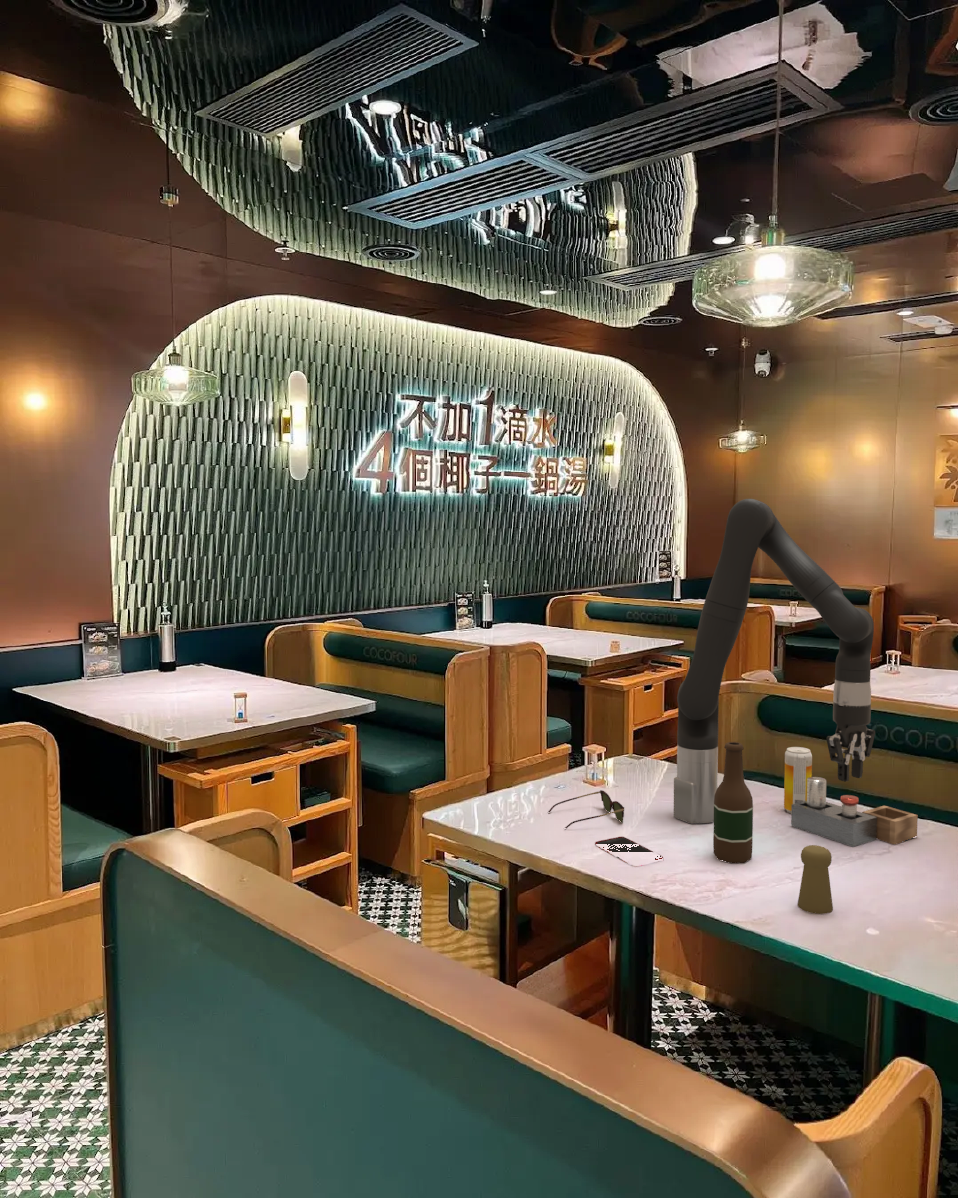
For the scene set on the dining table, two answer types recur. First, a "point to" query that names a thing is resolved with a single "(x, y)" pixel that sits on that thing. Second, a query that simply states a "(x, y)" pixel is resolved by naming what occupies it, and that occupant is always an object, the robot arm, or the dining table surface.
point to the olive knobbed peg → (815, 880)
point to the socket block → (834, 824)
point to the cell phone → (623, 841)
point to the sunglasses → (608, 806)
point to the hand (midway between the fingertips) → (850, 778)
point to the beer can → (796, 775)
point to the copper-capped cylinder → (849, 806)
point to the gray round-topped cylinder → (816, 793)
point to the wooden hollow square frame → (894, 824)
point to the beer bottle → (733, 811)
